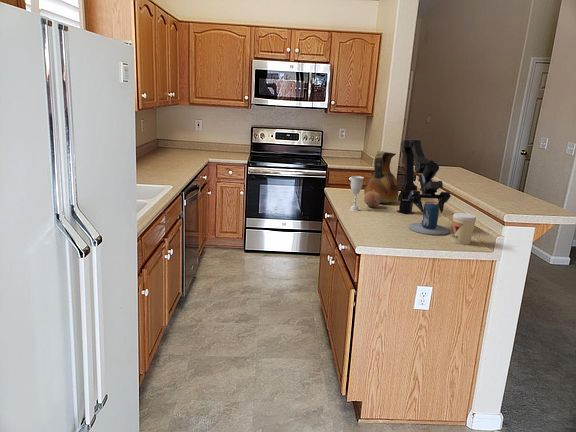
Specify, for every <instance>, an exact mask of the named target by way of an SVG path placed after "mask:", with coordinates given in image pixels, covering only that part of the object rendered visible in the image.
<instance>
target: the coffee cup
mask: <svg viewBox="0 0 576 432" xmlns="http://www.w3.org/2000/svg"><path fill="white" fill-rule="evenodd" d="M476 220H477V217H476V215H474V214H472V213H468V212H467V213H466V212H455V213H454V214H453V215H452V226H451V227H452V228H451V242H452V243H454V244H458V245H461V246H462V245H464V246H465V245H468V246H469V245H470V244H471V242H472V237H473V233H474V228H475V224H476Z"/></svg>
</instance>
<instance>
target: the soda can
mask: <svg viewBox="0 0 576 432" xmlns="http://www.w3.org/2000/svg"><path fill="white" fill-rule="evenodd" d="M439 212H440V209H439V205H438V202H436V201H426V202H425V203H424V205H423V212H422V216H421V217H422V218H421V223H422V227H423V228H425V229H430V230H433V229H435V228H436V227H437V225H438V219H439Z"/></svg>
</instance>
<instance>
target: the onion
mask: <svg viewBox="0 0 576 432" xmlns="http://www.w3.org/2000/svg"><path fill="white" fill-rule="evenodd" d="M363 199H364V203H365V204H366V205H367V206H368V207H370V208H375V207H377V206H379V205H380V204H381V203H382V202H381V196H380V195H379V194H378V193H377V192H376V191H374V190H372V191H369V192H367V193H366V194H365V195H364V197H363Z"/></svg>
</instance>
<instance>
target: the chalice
mask: <svg viewBox="0 0 576 432" xmlns="http://www.w3.org/2000/svg"><path fill="white" fill-rule="evenodd" d="M364 178H365V177H364V176H360V175H359V176H358V175H351V176H350V188H351V191H352V194H354V197H353V205H351V207H350V208H349V211H351V212H359V211H360V209H359V207H358V205H357V204H356V203H357V199H358V198H357V195H359V194H360V192H361V190H362V188H363V183H364V181H363V180H364Z"/></svg>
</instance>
